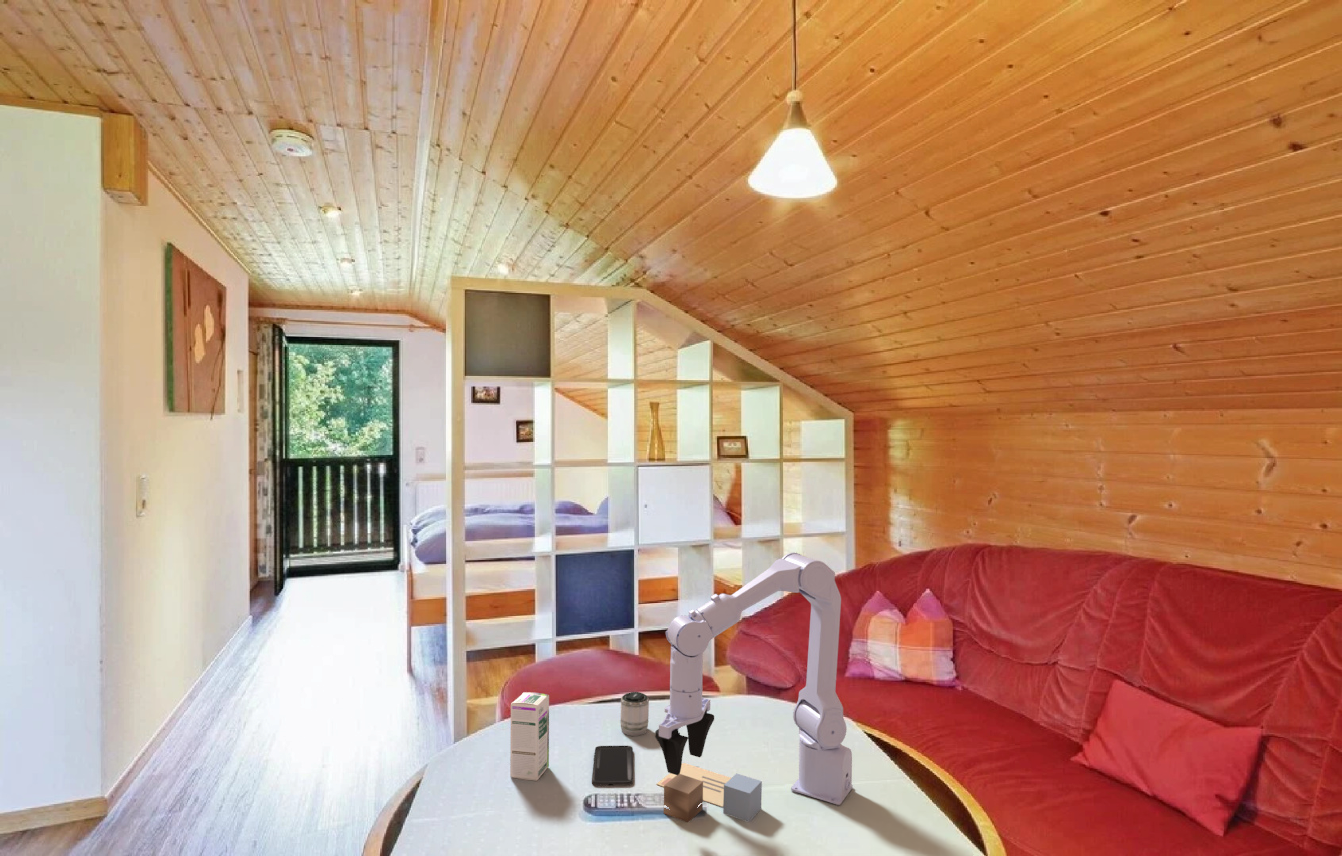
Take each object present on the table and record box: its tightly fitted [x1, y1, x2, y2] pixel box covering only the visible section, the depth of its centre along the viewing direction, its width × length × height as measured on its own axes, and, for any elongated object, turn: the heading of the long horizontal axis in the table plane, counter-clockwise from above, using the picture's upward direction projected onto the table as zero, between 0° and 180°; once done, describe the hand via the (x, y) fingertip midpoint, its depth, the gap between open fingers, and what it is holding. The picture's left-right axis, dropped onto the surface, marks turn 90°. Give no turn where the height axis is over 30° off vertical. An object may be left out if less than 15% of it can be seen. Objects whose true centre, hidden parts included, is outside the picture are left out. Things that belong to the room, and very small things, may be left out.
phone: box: [591, 745, 634, 787], centre depth 136 cm, size 8×1×15 cm
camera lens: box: [619, 691, 650, 737], centre depth 153 cm, size 6×6×8 cm
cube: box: [722, 773, 763, 823], centre depth 121 cm, size 5×5×5 cm
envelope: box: [655, 762, 732, 808], centre depth 130 cm, size 14×10×1 cm
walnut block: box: [663, 774, 704, 823], centre depth 121 cm, size 5×5×5 cm
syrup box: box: [509, 691, 550, 782], centre depth 134 cm, size 6×6×14 cm
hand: (685, 763), depth 121 cm, fingers open, 7 cm apart
